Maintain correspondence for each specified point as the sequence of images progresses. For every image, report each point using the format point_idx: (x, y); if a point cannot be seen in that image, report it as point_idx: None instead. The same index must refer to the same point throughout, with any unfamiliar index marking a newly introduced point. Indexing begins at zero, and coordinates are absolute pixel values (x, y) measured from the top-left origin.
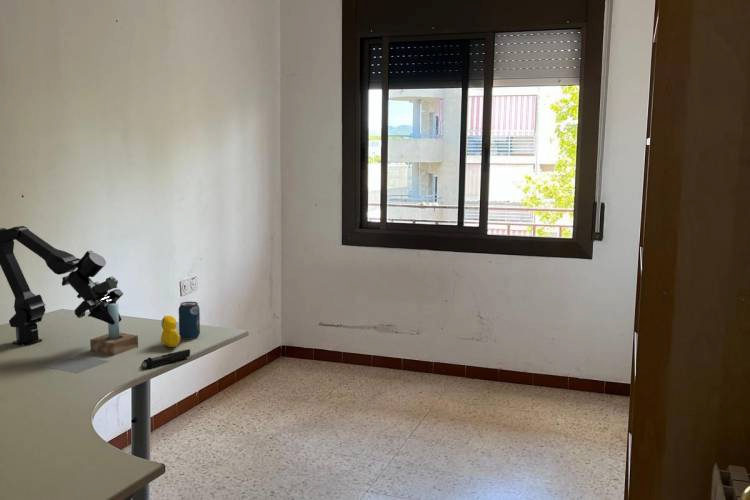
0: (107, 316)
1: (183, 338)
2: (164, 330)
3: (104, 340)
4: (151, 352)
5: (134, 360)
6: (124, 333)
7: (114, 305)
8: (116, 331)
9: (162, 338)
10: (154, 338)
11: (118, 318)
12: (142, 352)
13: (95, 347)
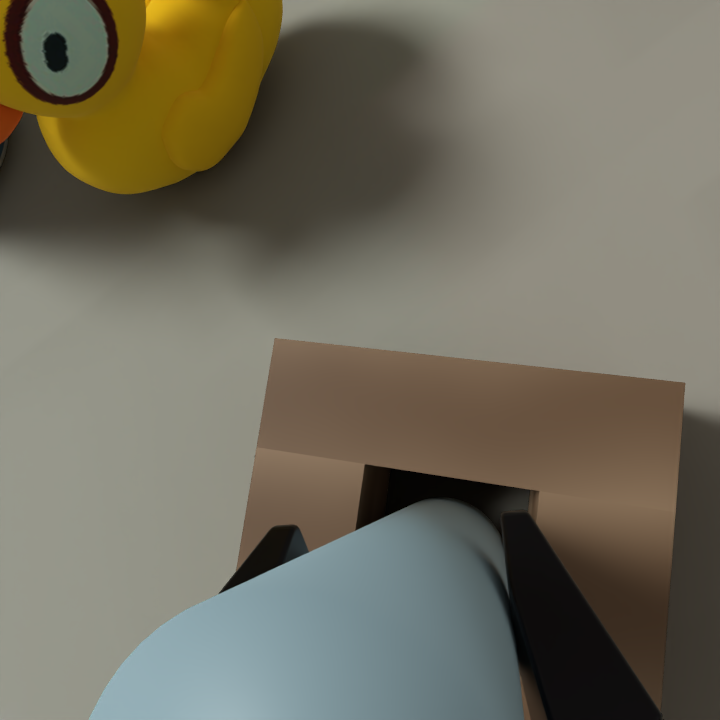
0: (640, 697)
1: (2, 156)
2: (131, 74)
3: (607, 610)
4: (408, 153)
5: (679, 132)
6: (243, 551)
7: (399, 659)
8: (460, 512)
9: (212, 114)
10: (38, 399)
11: (360, 529)
12: (436, 226)
13: None
